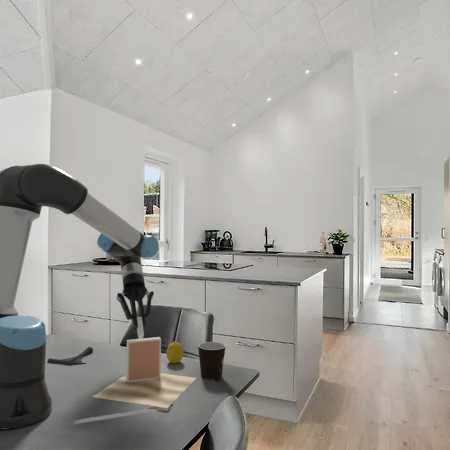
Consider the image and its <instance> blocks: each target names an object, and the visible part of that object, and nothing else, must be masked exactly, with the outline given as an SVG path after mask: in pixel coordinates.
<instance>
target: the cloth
mask: <svg viewBox="0 0 450 450" xmlns="http://www.w3.org/2000/svg"><path fill="white" fill-rule="evenodd" d="M196 379H197V377H194V376H186V375H177V374H168V373H162V372H161V377H160V378H157V379H149V380H141V381H133V382H127V381H126V374H124V375H123V376H122V377H119V378H118V379H117V380H115V381H113V383H112V382H111V384H109V385H108V386H106V387H105V388H104V389H102V390H100V391H99V392H97V393H96V394H94V395H93V396H92V398H94V399H103V400H107V401H108V400H109V401H115V402H122V403H129V404H136V405H141V406H143V405H144V406H150V407H148V409H149V410H156V411H165V412H168V411H169V410H170V409H171V408H172V407H173V406H174V405H175V404H174V402H175V401H176V400H177V399H178V398H179V397H180V396H181V395H182V394H183V393H184V392H185V391H186V389H188V387H189V386H191V385H192V383H193V382H195V381H196Z"/></svg>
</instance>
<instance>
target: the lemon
mask: <svg viewBox="0 0 450 450" xmlns="http://www.w3.org/2000/svg"><path fill="white" fill-rule="evenodd" d="M183 357H184V349H183V346H182V345H181V343H179V342H177V341H176V340H175V341H173V342H171V343H170V344H169V345H168V347H167V349H166V358H167V360H168V361H169V362H170V363H171V364H178V363H180V362H181V361H182V360H183Z"/></svg>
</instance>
